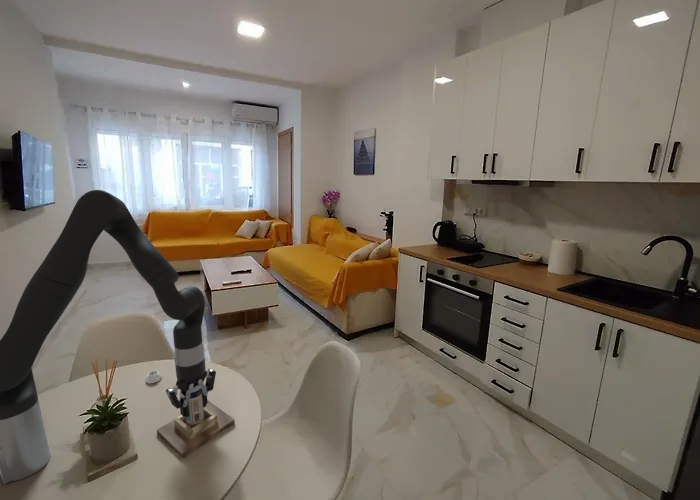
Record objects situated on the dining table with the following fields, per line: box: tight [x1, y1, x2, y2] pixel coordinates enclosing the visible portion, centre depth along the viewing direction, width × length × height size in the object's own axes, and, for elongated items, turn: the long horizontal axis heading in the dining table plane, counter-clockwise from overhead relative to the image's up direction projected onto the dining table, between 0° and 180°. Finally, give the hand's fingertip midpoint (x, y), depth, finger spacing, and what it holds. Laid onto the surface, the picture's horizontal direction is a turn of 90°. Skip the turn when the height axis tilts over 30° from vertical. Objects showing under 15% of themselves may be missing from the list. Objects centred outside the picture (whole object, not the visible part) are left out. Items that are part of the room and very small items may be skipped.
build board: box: [156, 400, 236, 459], centre depth 99 cm, size 16×14×4 cm
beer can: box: [183, 385, 204, 425], centre depth 97 cm, size 5×5×12 cm
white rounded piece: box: [144, 370, 162, 384], centre depth 121 cm, size 5×3×5 cm
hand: (194, 410), depth 98 cm, fingers closed on beer can, 4 cm apart
